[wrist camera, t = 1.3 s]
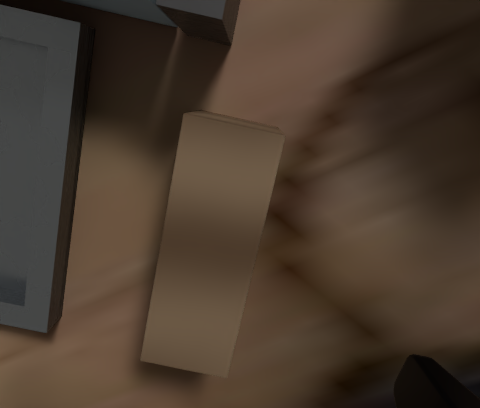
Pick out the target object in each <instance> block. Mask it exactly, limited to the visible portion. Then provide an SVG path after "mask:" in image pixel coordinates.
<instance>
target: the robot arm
mask: <svg viewBox="0 0 480 408" xmlns="http://www.w3.org/2000/svg"><path fill="white" fill-rule="evenodd" d="M394 397H395V403H396V408H480V399H479V398H478V397H477V396H476V395H474V394H473V393H472V392H471V391H470V390H469V389H467V388H466V387H465V386H464V385H463V384H462V383H460V382H459V381H458V380H457V379H456V378H455V377H453V376H452V375H451V374H450V373H449V372H448V371H446V370H445V369H444V368H443V367H442V366H441V365H439V364H438V363H437V362H436V361H435V360H434V359H432V358H430V357H427V356H422V355H416V354H412V355H410V356H408V358H407V359H406V361H405V363H404V365H403V367H402V369H401V371H400V373H399V375H398V377H397V379H396V381H395V384H394Z"/></svg>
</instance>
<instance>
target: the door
mask: <svg viewBox="0 0 480 408" xmlns="http://www.w3.org/2000/svg"><path fill="white" fill-rule="evenodd" d="M60 1H64V2H68V3H73V4H77V5H81V6H86V7H90V8H95V9H99V10H103V11H108V12H112V13H116V14H121V15H125V16H129V17H134V18H138V19H143V20H147V21H151V22H156V23H160V24H164V25H169V26H173V27H178V26H177V25H176V24H175V23H174V22H173V21H172V20H171V19H170V18H169V17H168V16H167V15H166V14H165V13H164V12H163V11H162V10H161V9H160V8H159V7H158V6H157V5H156V0H60Z"/></svg>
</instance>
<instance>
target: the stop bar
mask: <svg viewBox="0 0 480 408" xmlns="http://www.w3.org/2000/svg"><path fill="white" fill-rule="evenodd" d="M284 141H285V135H284V134H283V133H282V132H281V131H280V130H279V128H278V127H275V126H271V125H266V124H262V123H257V122H252V121H248V120H243V119H239V118H234V117H230V116H225V115H221V114H216V113H212V112H207V111H203V110H198V111H193V112H188V113H184V114H183V119H182V125H181V131H180V136H179V142H178V148H177V153H176V159H175V165H174V171H173V176H172V182H171V188H170V193H169V199H168V205H167V210H166V216H165V222H164V227H163V233H162V239H161V245H160V250H159V256H158V262H157V267H156V273H155V279H154V284H153V290H152V296H151V301H150V307H149V313H148V319H147V324H146V330H145V336H144V341H143V347H142V353H141V358H140V361H144V362H149V363H154V364H159V365H164V366H169V367H174V368H179V369H183V370H188V371H193V372H198V373H203V374H208V375H213V376H218V377H223V378H227V377H228V372H229V368H230V364H231V360H232V356H233V352H234V348H235V343H236V339H237V335H238V331H239V327H240V323H241V319H242V314H243V310H244V306H245V302H246V298H247V294H248V290H249V286H250V281H251V277H252V273H253V269H254V265H255V261H256V257H257V252H258V248H259V244H260V240H261V236H262V232H263V228H264V223H265V219H266V215H267V211H268V207H269V203H270V199H271V194H272V190H273V186H274V182H275V178H276V174H277V170H278V165H279V161H280V157H281V153H282V149H283V145H284Z"/></svg>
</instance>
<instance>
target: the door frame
mask: <svg viewBox="0 0 480 408" xmlns="http://www.w3.org/2000/svg"><path fill="white" fill-rule="evenodd" d="M156 5H157V6H158V7H159V8H160V9H161V10H162V11H163V12H164V13H165V14H166V15H167V16H168V17H169V18H170V19H171V20H172V21H173V22H174V23H175V24H176V25H177V26H178V27H179V28H180V29H181V30H182V31H183V32H184V33H185V34H186V35H187V36H191V37H195V38H200V39H204V40H209V41H213V42H217V43H222V44H226V45H230V46H231V45H232V40H233V35H234V30H235V25H236V20H237V15H238V10H239V5H240V0H156Z"/></svg>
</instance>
